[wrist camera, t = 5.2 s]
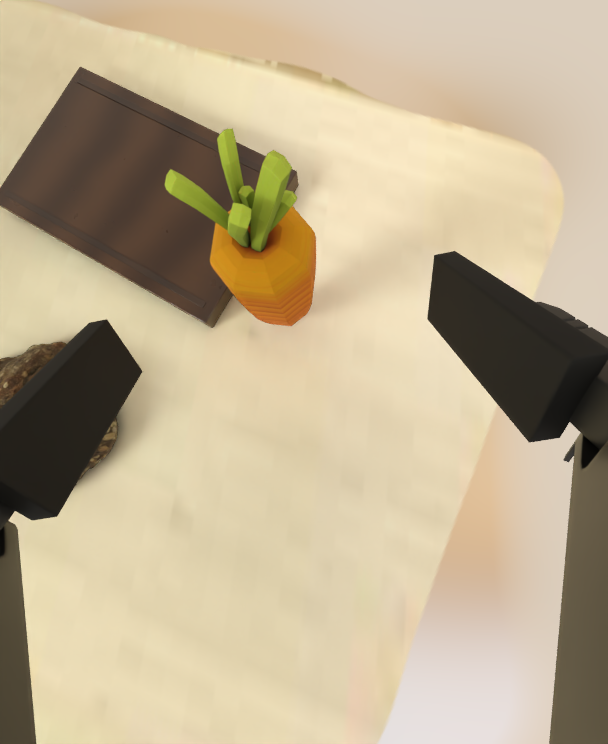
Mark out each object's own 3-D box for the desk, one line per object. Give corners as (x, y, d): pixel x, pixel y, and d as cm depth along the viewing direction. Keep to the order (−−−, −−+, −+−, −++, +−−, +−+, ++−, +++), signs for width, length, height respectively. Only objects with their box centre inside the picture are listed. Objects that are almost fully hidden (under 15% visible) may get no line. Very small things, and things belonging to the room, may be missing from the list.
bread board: (10, 211, 26) (-10, 199, 24) (93, 84, 27) (79, 64, 25) (212, 328, 24) (205, 323, 22) (298, 185, 24) (296, 170, 23)
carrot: (248, 327, 23) (113, 200, 8) (278, 275, 24) (199, 62, 9) (301, 356, 23) (256, 276, 8) (332, 302, 23) (344, 126, 8)
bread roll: (-1, 517, 23) (-89, 549, 18) (-34, 375, 25) (-124, 369, 20) (144, 462, 23) (94, 479, 18) (101, 320, 24) (44, 300, 19)
